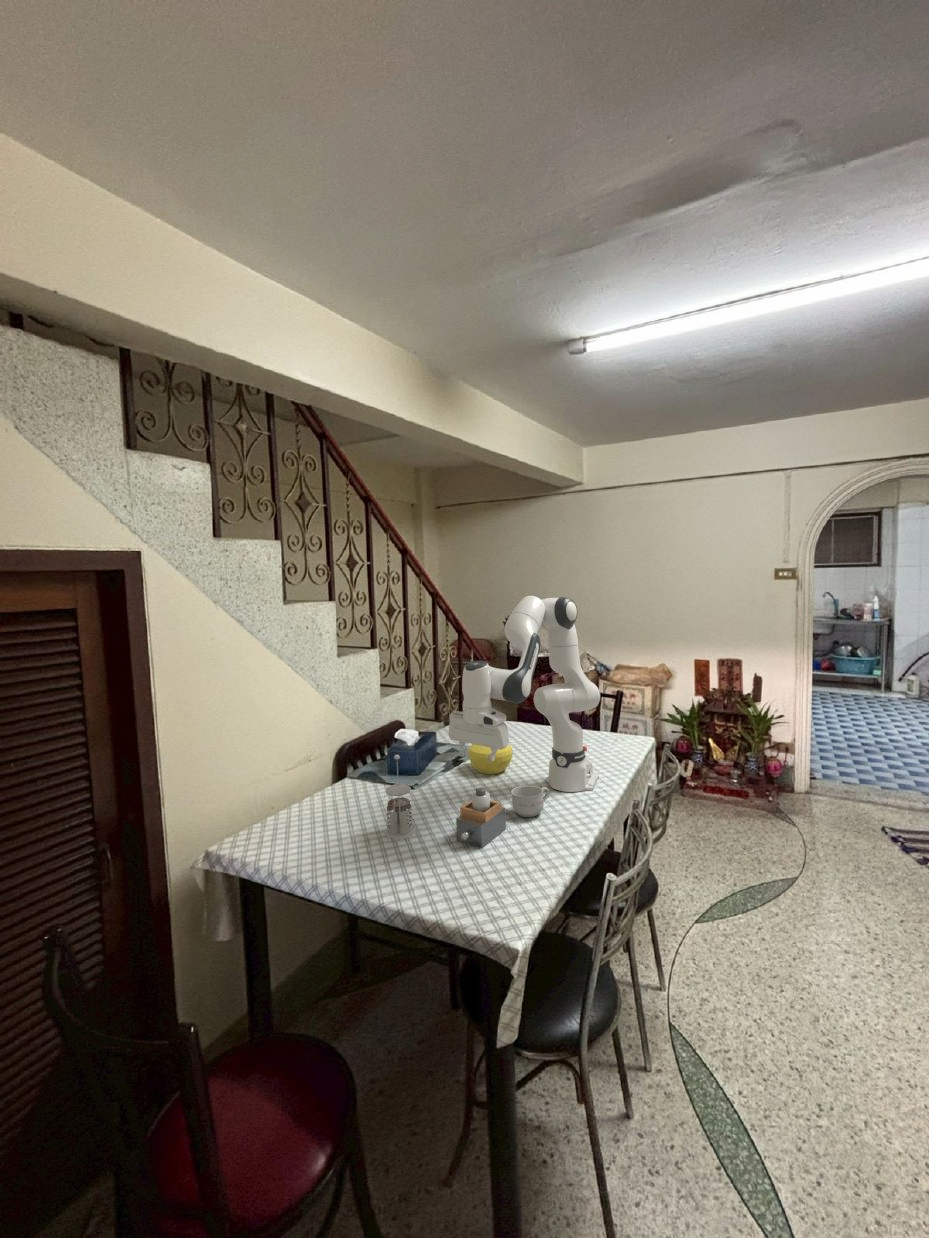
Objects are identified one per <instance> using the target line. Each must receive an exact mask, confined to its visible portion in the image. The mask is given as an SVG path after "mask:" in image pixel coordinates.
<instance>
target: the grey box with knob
mask: <svg viewBox="0 0 929 1238" xmlns="http://www.w3.org/2000/svg"><path fill="white" fill-rule="evenodd" d="M459 811H460V813H459V814H460V815H459V816H458V817H456V818H455V819H456V820H455V823H456V825H455V827H456V841H457V842H459V843H462V844H466V845H469V846H472V847H475V848H478V849H483V848H485V847H486V846H487V845H489V844H490V843H491V842H492V841H493V840H494V839H496V838H497V837H498V836H500V835H501V834H502V833H503V832H505V830H506V829H507V827H506V826H507V824H506V821H507V820H506V807H502V802H499V801H494V800H491V799H490V809H489V810H487V811H486V812H481V811H477V810H474V809H472V799H471V800H470V801H468V802H467V803H465V804H464V805H463V804H462V806H460V807H459Z"/></svg>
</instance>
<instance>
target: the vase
mask: <svg viewBox="0 0 929 1238" xmlns="http://www.w3.org/2000/svg"><path fill="white" fill-rule="evenodd" d="M468 749H469V755H467V756H468V759H469V762H470V763H471V765H472V766H473V767H474V769H475V770H476V771H477V772H478V773H481V774H484V775H498V774H501V773H502V772H504V771H505V770H506V769H507V768H508V766H509V765H510V763H511V762H512V761H511V760H513V753H514V752H513V751H514V750H513V747H512V746H511V744H510V743H509V744H508V746H507V747H505V748H504V749H502V750H501V749H498V750H497V752H496V754H495V760H494V761H489V760H488V755H490V754H491V753H492V751H491V748H490V747H486V746H481V745H476V744H470V746H469V747H468Z"/></svg>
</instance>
